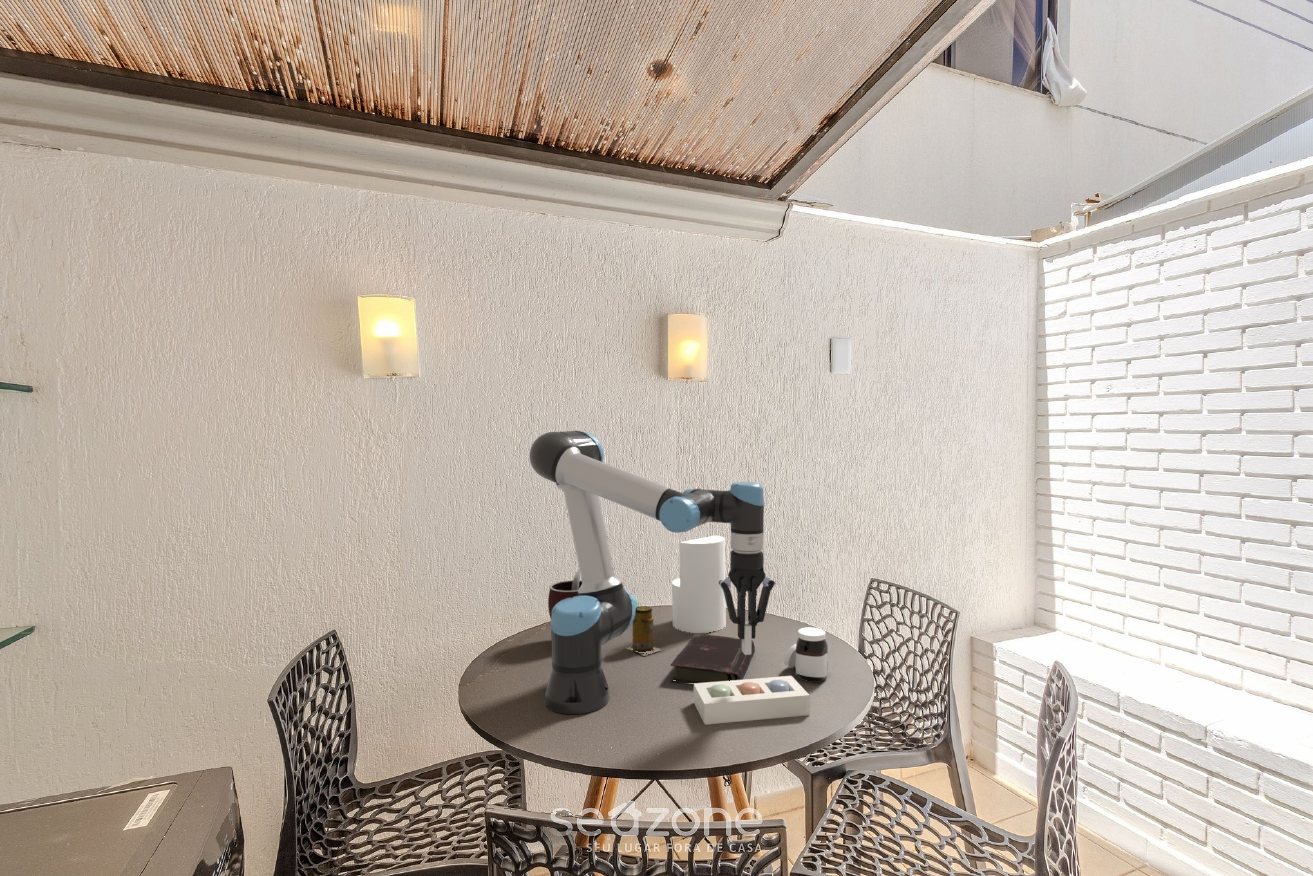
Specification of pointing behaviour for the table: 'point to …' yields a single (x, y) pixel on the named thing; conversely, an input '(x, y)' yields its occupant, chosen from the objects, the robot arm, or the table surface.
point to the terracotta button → (749, 688)
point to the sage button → (720, 691)
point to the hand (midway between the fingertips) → (746, 652)
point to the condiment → (642, 630)
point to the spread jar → (809, 655)
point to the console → (751, 701)
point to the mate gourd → (563, 591)
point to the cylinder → (700, 586)
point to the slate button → (779, 686)
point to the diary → (711, 660)
